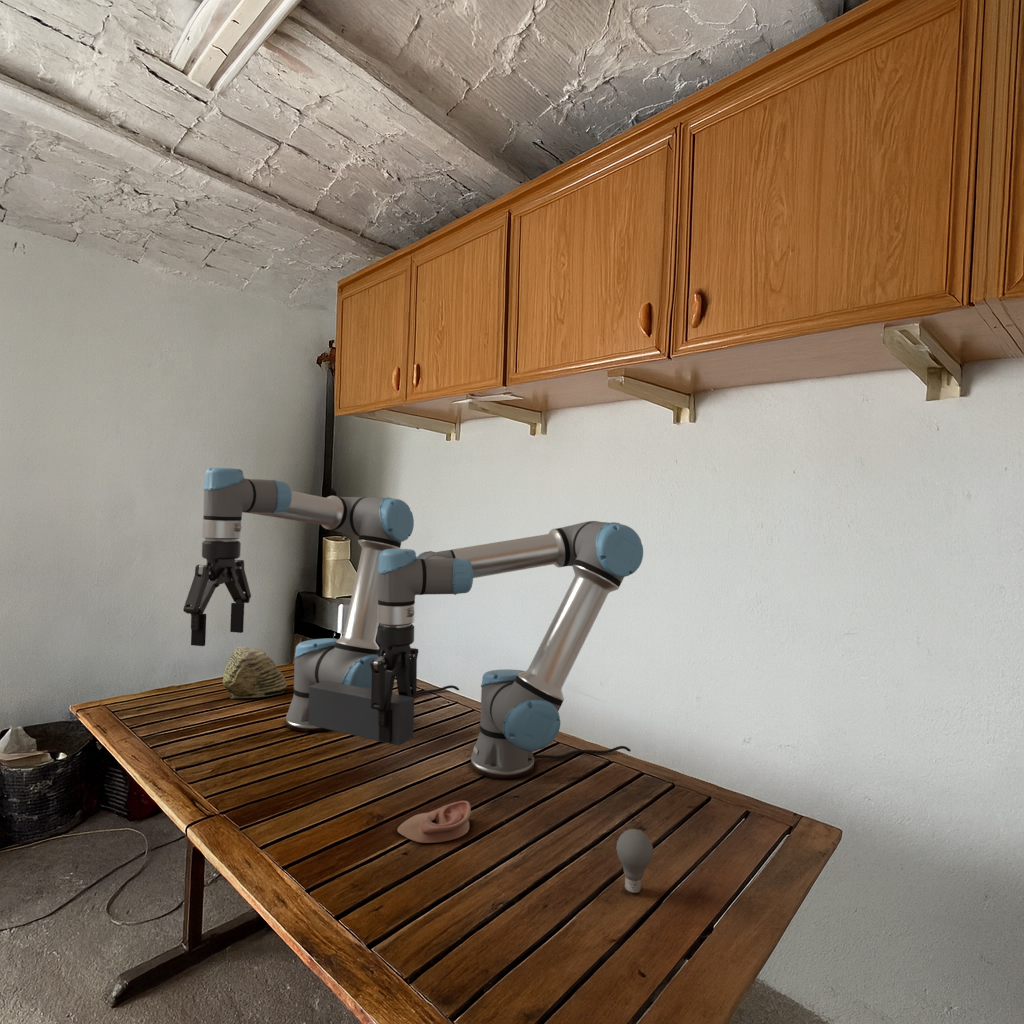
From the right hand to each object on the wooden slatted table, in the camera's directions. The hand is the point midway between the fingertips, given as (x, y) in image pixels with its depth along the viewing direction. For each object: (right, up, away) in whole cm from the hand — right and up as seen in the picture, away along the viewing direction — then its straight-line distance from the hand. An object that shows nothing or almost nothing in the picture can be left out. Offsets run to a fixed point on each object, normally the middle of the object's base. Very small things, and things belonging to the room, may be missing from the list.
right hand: (393, 735), depth 131 cm
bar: (-8, 0, +4) cm, 9 cm away
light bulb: (+45, -17, -25) cm, 54 cm away
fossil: (-56, -11, +67) cm, 88 cm away
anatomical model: (+9, -15, -8) cm, 20 cm away
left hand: (-39, +19, +5) cm, 44 cm away
